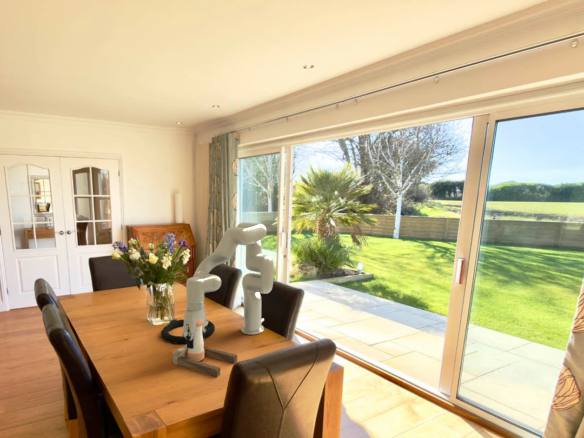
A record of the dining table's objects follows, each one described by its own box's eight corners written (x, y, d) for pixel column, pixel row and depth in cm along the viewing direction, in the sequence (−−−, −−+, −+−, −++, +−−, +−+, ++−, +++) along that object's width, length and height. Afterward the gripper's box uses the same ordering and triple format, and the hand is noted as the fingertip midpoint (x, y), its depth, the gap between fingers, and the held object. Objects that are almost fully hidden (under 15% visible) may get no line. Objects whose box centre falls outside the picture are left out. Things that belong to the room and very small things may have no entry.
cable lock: (179, 343, 151) (148, 326, 170) (179, 350, 151) (148, 333, 170) (225, 325, 172) (193, 312, 191) (225, 332, 172) (193, 318, 191)
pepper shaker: (190, 363, 137) (190, 320, 136) (185, 356, 143) (184, 315, 142) (206, 358, 141) (206, 316, 140) (201, 352, 147) (200, 312, 146)
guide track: (195, 350, 151) (195, 339, 151) (237, 361, 141) (237, 350, 141) (172, 363, 138) (172, 352, 138) (217, 377, 128) (217, 365, 128)
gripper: (202, 298, 150) (202, 335, 151) (174, 310, 134) (174, 351, 135) (214, 301, 147) (215, 338, 148) (188, 313, 131) (188, 355, 132)
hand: (195, 344), depth 142 cm, fingers closed on pepper shaker, 6 cm apart
